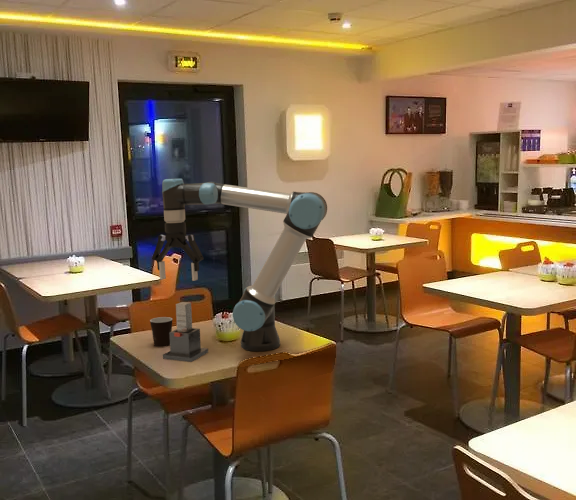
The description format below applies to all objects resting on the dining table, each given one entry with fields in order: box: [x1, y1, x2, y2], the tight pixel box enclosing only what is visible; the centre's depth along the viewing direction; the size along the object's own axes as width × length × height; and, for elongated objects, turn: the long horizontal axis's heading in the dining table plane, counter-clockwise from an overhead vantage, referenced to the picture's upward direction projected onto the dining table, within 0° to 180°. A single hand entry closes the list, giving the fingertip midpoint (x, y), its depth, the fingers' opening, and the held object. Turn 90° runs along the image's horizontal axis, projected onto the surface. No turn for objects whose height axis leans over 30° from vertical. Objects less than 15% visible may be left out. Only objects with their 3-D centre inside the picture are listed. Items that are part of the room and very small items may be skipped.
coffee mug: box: [149, 316, 173, 348], centre depth 244 cm, size 12×9×10 cm
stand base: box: [162, 327, 209, 363], centre depth 228 cm, size 12×12×10 cm
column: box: [175, 301, 193, 333], centre depth 227 cm, size 4×4×18 cm
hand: (178, 279), depth 226 cm, fingers open, 13 cm apart
